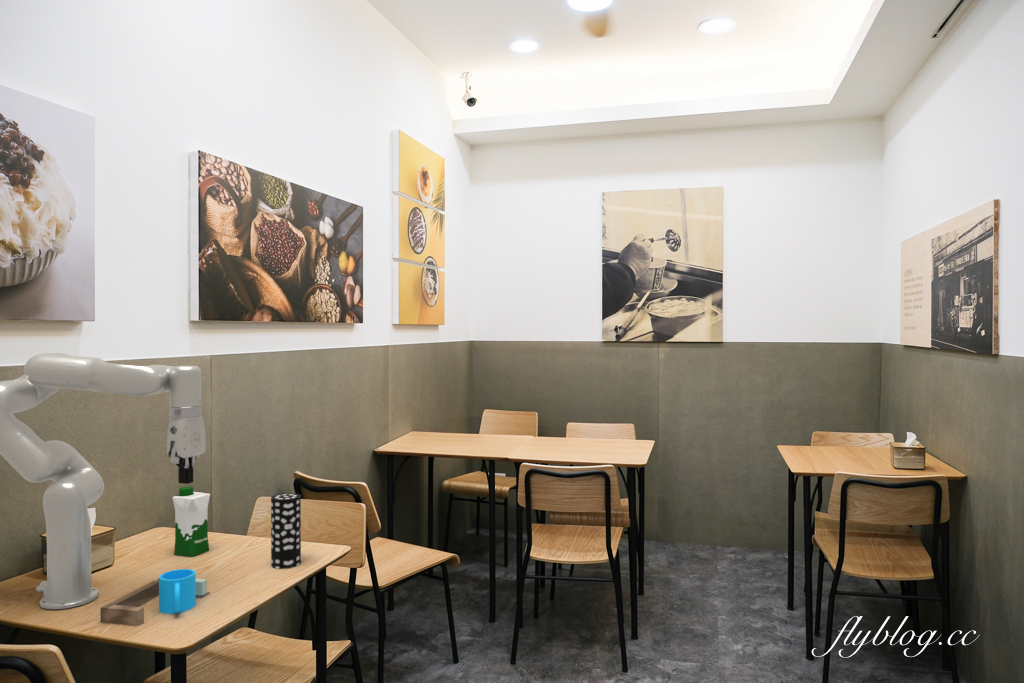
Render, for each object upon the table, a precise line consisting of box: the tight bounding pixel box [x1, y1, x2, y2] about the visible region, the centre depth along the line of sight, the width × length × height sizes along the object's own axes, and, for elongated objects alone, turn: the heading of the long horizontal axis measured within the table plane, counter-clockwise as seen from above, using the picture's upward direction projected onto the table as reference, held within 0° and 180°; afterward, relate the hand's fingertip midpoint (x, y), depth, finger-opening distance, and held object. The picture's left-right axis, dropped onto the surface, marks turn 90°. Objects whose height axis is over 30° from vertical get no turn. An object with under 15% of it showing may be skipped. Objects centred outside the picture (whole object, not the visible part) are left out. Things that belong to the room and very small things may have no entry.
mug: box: [158, 568, 196, 615], centre depth 169 cm, size 12×8×8 cm
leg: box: [195, 577, 208, 596], centre depth 179 cm, size 12×2×4 cm, turn 77°
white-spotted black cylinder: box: [270, 492, 302, 570], centre depth 202 cm, size 8×8×20 cm
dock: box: [99, 577, 211, 627], centre depth 170 cm, size 14×21×4 cm, turn 169°
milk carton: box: [172, 486, 211, 558], centre depth 213 cm, size 9×9×20 cm
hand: (185, 482), depth 179 cm, fingers closed
